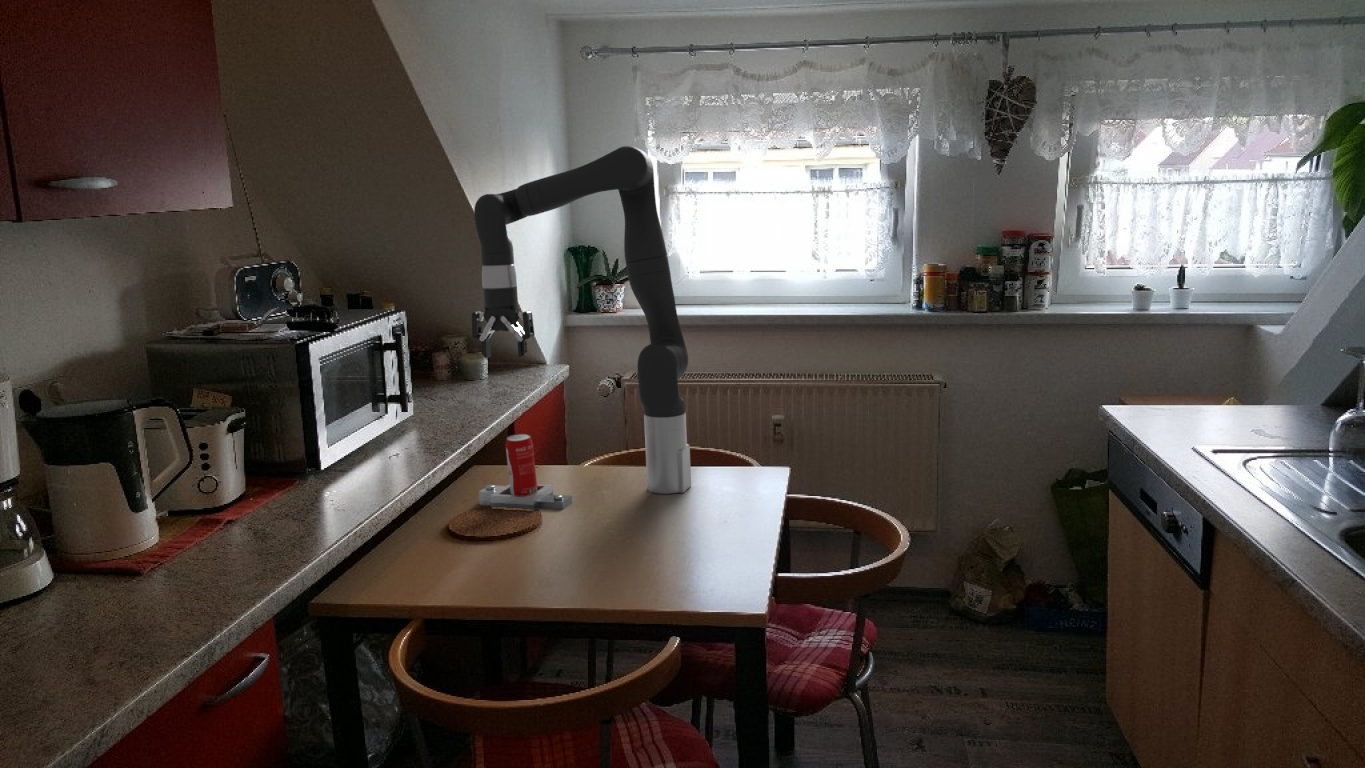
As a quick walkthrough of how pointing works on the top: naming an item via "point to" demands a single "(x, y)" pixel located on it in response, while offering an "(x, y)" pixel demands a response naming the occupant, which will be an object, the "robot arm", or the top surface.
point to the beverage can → (521, 465)
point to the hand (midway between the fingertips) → (504, 357)
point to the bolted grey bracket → (523, 498)
